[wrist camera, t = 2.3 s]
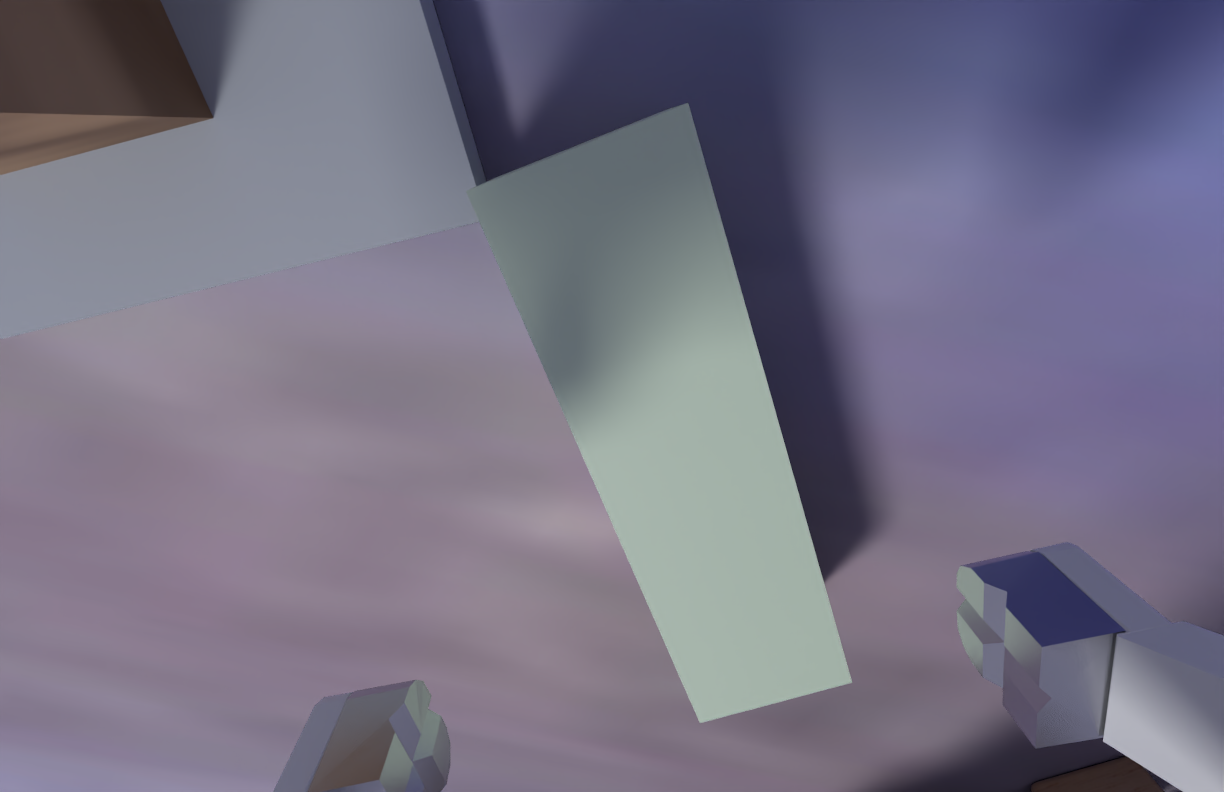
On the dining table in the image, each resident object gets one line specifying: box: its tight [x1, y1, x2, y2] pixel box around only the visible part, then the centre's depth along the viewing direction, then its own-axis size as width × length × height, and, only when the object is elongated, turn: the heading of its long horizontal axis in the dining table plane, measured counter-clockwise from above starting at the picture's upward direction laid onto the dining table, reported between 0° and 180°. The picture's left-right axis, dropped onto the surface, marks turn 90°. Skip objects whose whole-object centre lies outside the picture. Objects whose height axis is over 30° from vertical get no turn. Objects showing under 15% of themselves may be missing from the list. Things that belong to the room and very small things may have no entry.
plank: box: [466, 103, 852, 723], centre depth 14 cm, size 4×14×4 cm, turn 20°
